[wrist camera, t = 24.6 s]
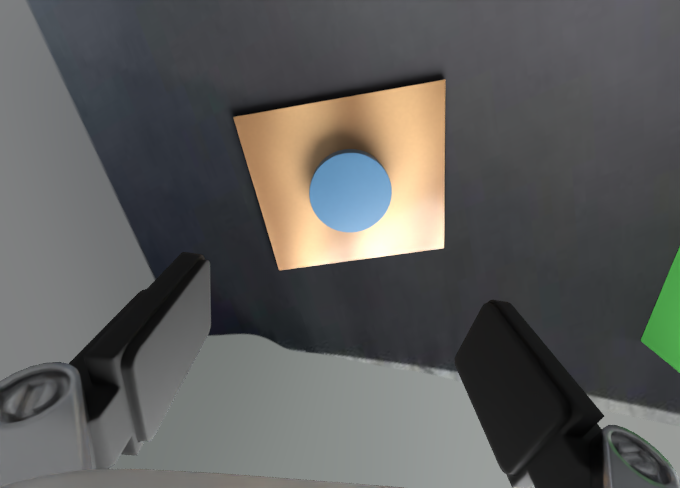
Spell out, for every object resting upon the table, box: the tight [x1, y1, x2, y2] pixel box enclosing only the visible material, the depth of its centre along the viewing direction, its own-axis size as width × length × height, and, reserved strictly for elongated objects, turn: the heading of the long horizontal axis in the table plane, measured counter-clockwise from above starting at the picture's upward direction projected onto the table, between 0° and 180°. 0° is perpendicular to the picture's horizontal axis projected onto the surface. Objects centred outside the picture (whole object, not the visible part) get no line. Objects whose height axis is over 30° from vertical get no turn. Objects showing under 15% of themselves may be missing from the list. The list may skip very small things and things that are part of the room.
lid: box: [309, 149, 392, 232], centre depth 24 cm, size 7×7×2 cm
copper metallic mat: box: [233, 79, 445, 270], centre depth 25 cm, size 16×14×1 cm
